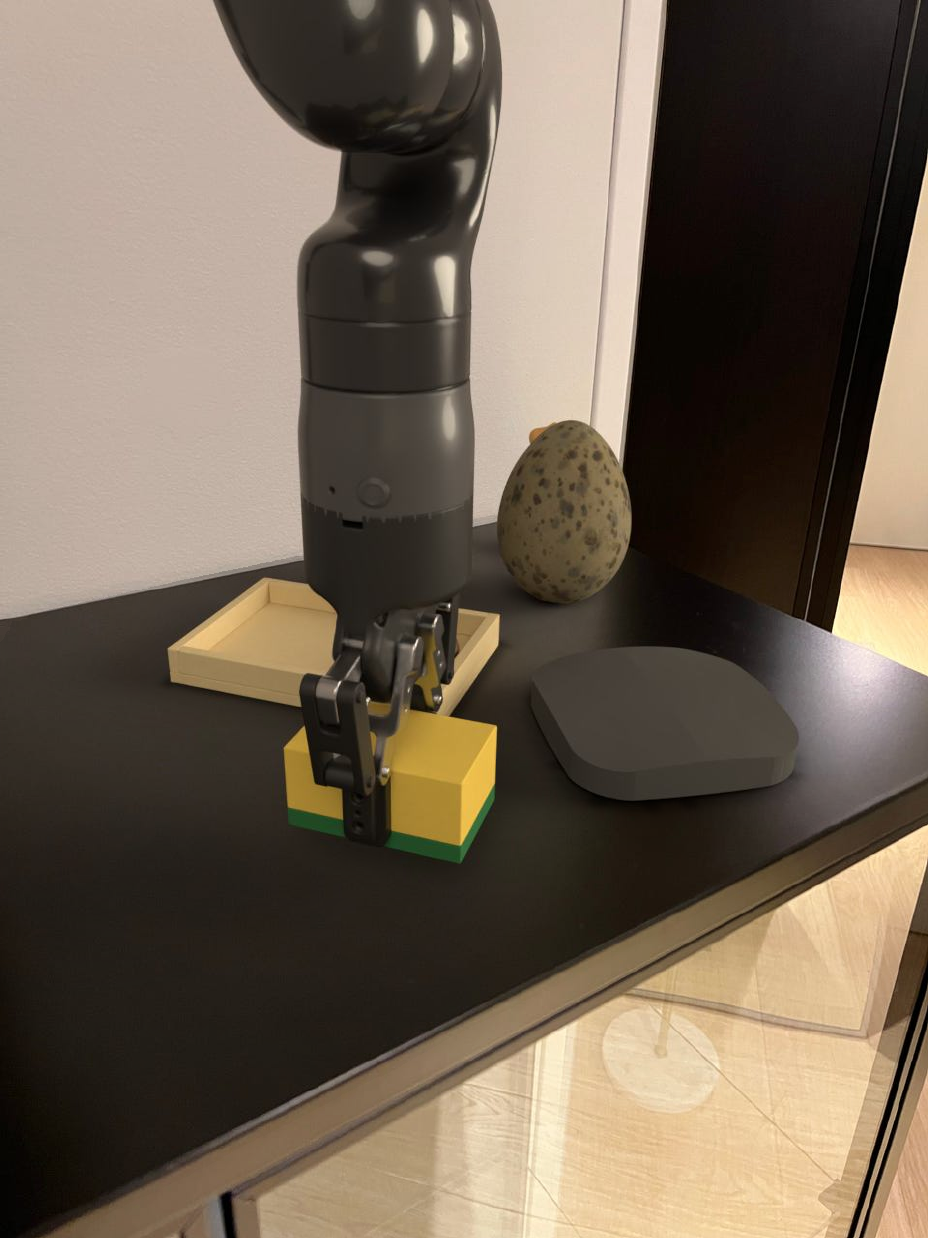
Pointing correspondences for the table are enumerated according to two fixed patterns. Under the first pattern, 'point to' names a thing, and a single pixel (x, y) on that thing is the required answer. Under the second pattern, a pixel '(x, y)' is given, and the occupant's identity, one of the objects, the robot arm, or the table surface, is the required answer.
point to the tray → (297, 645)
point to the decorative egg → (565, 515)
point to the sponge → (411, 785)
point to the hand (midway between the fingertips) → (391, 803)
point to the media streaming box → (661, 723)
